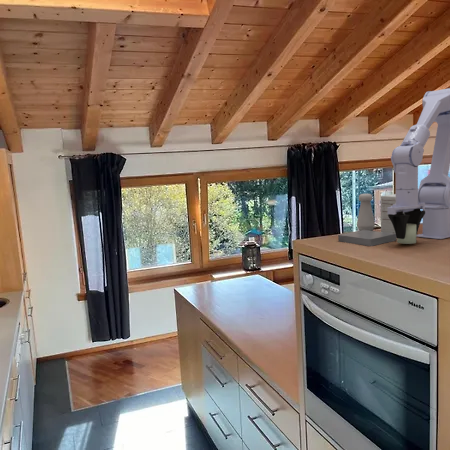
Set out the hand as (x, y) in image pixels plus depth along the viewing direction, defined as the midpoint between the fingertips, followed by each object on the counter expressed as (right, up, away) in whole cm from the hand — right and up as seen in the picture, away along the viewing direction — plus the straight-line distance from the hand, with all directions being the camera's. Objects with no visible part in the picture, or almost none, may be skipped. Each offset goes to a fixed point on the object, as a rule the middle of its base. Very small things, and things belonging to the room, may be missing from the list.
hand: (406, 237), depth 122 cm
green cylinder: (0, -1, 0) cm, 1 cm away
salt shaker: (-3, +1, +25) cm, 26 cm away
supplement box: (+5, 0, +19) cm, 19 cm away
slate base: (-8, -1, +9) cm, 12 cm away
